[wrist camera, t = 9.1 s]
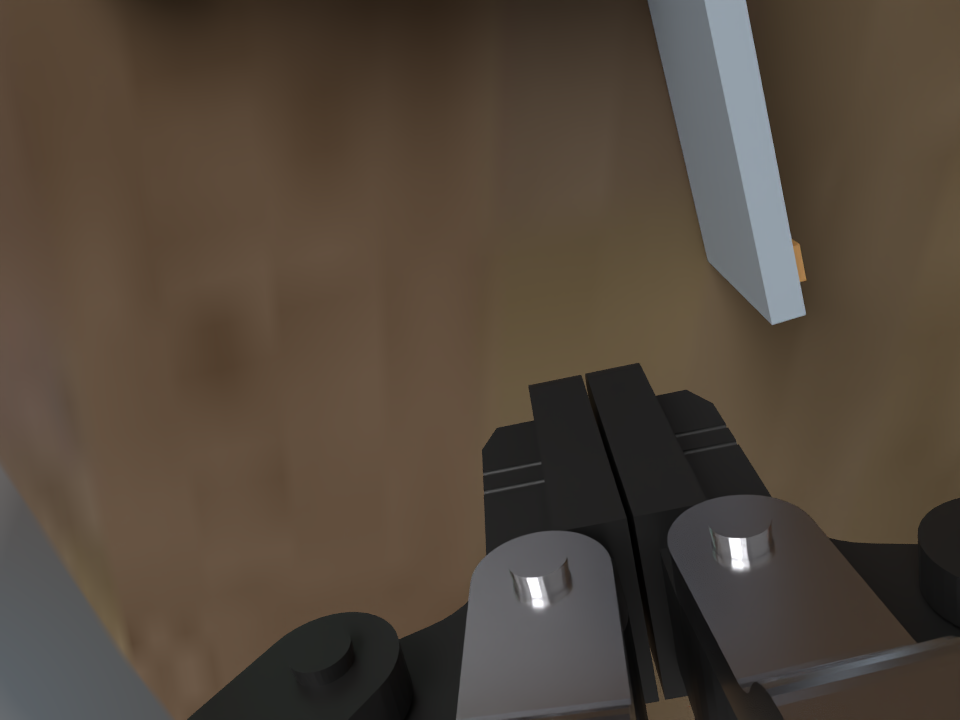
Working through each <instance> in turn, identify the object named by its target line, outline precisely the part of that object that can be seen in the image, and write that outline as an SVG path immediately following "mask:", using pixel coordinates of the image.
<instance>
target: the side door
mask: <svg viewBox="0 0 960 720" xmlns="http://www.w3.org/2000/svg"><path fill="white" fill-rule="evenodd" d="M647 1H648V5H649V9H650V14H651V18H652V22H653V26H654V31H655V35H656V39H657V44H658V48H659V52H660V57H661V61H662V65H663V70H664V74H665V78H666V82H667V87H668V91H669V95H670V100H671V104H672V108H673V113H674V117H675V121H676V126H677V130H678V134H679V138H680V143H681V147H682V151H683V156H684V160H685V164H686V169H687V173H688V177H689V182H690V186H691V190H692V194H693V199H694V203H695V207H696V212H697V216H698V220H699V225H700V229H701V233H702V238H703V242H704V246H705V250H706V255H707V259H708V262H709V263H711V264H712V265H713V266H714V267H715V268H716V269H717V270H718V271H719V272H720V273H721V274H722V275H723V276H724V277H725V278H726V279H727V280H728V281H729V282H730V283H731V284H732V285H733V286H734V287H735V288H736V289H737V290H738V291H739V292H740V293H741V294H742V295H743V296H744V297H745V298H746V299H747V300H748V301H749V302H750V303H751V304H752V305H753V306H754V307H755V308H756V309H757V310H758V311H759V312H760V313H761V314H762V315H763V316H764V317H765V318H766V319H767V320H768V321H769V322H770V323H771V324H772V325H774V324H777V323H780V322H784V321H787V320H790V319H793V318H797V317H800V316H803V315H806V312H805V307H804V301H803V296H802V291H801V286H800V282H802V281H805V280H806V276H805V271H804V265H803V260H802V255H801V249H800V244H798V243H797V242H795V241H794V240H792V239H791V234H790V229H789V223H788V218H787V213H786V208H785V203H784V197H783V192H782V187H781V182H780V176H779V171H778V166H777V161H776V156H775V150H774V145H773V140H772V135H771V130H770V124H769V119H768V114H767V109H766V104H765V98H764V93H763V88H762V83H761V78H760V72H759V67H758V62H757V57H756V51H755V46H754V41H753V36H752V31H751V25H750V20H749V15H748V10H747V5H746V0H647Z"/></svg>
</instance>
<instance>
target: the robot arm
mask: <svg viewBox="0 0 960 720" xmlns="http://www.w3.org/2000/svg"><path fill="white" fill-rule="evenodd" d="M585 378H586V385H587V391H588V395H587V392H586V389H585V385H584V382H583V379H582V376H581V375H578V376H573V377H568V378H563V379H558V380H553V381H548V382H543V383H538V384H533V385H528V386H529V392H530V398H531V404H532V410H533V416H534V421H529V422H524V423H520V424H515V425H510V426H505V427H500V428H497V429H496V430H495V432H494V433H493V434H492V436H491V437H490V439H489V440H488V442H487V443H486V445H485V446H484V448H483V449H482V458H483V474H484V476H483V483H484V493H485V495H484V508H485V532H486V557H484V558H483V559H482V560H481V562H480V563H479V564H478V566H477V567H476V569H475V571H474V573H473V575H472V578H471V583H470V592H469V601H468V602H467V603H466V604H465V605H464V606H463V607H461V608H460V609H459V610H457V611H456V612H455V613H453V614H452V615H450V616H448V617H447V618H445V619H444V620H442V621H440V622H438V623H436V624H433V625H431V626H429V627H427V628H425V629H422V630H420V631H418V632H415V633H413V634H411V635H408V636H406V637H404V638H401V639H398V636H397V633H396V631H395V630H394V628H393V627H392V626H391V625H390V624H389V623H388V622H387V621H385V620H384V619H382V618H380V617H378V616H375V615H372V614H368V613H360V612H345V613H338V614H332V615H329V616H325V617H321V618H318V619H316V620H313V621H311V622H308V623H306V624H304V625H302V626H300V627H298V628H296V629H295V630H293V631H291V632H290V633H288V634H287V635H285V636H284V637H283V638H281V639H280V640H279V641H277V642H276V643H275V644H274V645H273V646H272V647H270V648H269V649H268V650H267V651H266V652H265V653H263V654H262V655H261V656H260V657H259V658H258V659H256V660H255V661H254V662H253V663H252V664H251V665H250V666H248V667H247V668H246V669H245V670H244V671H243V672H241V673H240V674H239V675H238V676H237V677H236V678H234V679H233V680H232V681H231V682H230V683H229V684H228V685H226V686H225V687H224V688H223V689H222V690H221V691H219V692H218V693H217V694H216V695H215V696H214V697H212V698H211V699H210V700H209V701H208V702H207V703H206V704H204V705H203V706H202V707H201V708H200V709H199V710H197V711H196V712H195V713H194V714H193V715H192V716H190V717H189V718H188V719H187V720H648V716H647V710H646V705H645V704H646V703H651V702H657V701H659V697H658V692H657V686H656V680H655V675H654V669H653V663H652V658H651V652H652V656H653V659H654V662H655V666H656V669H657V673H658V676H659V680H660V683H661V686H662V690H663V693H664V697H665V700H666V699H672V698H677V697H683V696H688V698H689V701H690V704H691V707H692V710H693V713H694V716H695V720H960V498H958V499H954V500H951V501H948V502H946V503H943V504H941V505H939V506H937V507H935V508H934V509H932V510H931V511H930V512H929V513H927V514H926V515H925V517H924V518H923V519H922V521H921V523H920V525H919V528H918V544H871V543H854V542H847V541H840V540H835V539H831V538H828V537H827V536H826V534H825V533H824V532H823V531H822V530H821V529H820V527H819V526H818V525H817V524H816V523H815V521H814V520H813V519H812V518H811V517H810V516H809V515H808V514H807V513H806V512H805V511H803V510H802V509H800V508H799V507H797V506H795V505H793V504H791V503H789V502H786V501H783V500H780V499H777V498H772V497H771V495H770V494H769V492H768V490H767V489H766V487H765V486H764V484H763V482H762V481H761V479H760V478H759V476H758V474H757V473H756V471H755V470H754V468H753V466H752V465H751V463H750V462H749V460H748V459H747V457H746V455H745V454H744V452H743V451H742V449H741V447H740V446H739V444H738V445H737V443H736V439H735V438H734V436H733V435H732V433H731V432H730V430H729V428H726V424H725V422H724V420H723V419H722V417H721V416H720V414H719V412H718V411H717V409H716V408H715V406H714V404H713V403H711V402H709V401H707V400H705V399H703V398H701V397H699V396H697V395H695V394H694V393H692V392H690V391H688V390H683V391H678V392H673V393H668V394H663V395H658V396H655V394H654V392H653V390H652V388H651V386H650V384H649V382H648V380H647V378H646V376H645V374H644V371H643V369H642V367H641V365H640V364H639V363H636V364H631V365H626V366H621V367H616V368H611V369H606V370H601V371H596V372H591V373H587V374H585ZM588 397H589V398H588ZM649 645H650V646H649ZM650 649H651V652H650Z"/></svg>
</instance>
